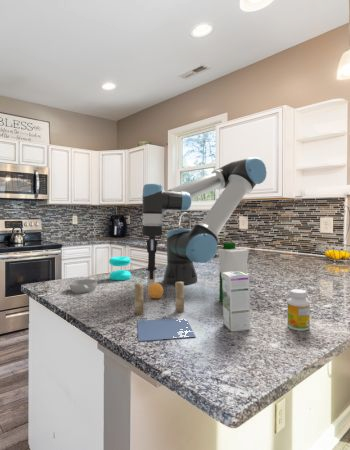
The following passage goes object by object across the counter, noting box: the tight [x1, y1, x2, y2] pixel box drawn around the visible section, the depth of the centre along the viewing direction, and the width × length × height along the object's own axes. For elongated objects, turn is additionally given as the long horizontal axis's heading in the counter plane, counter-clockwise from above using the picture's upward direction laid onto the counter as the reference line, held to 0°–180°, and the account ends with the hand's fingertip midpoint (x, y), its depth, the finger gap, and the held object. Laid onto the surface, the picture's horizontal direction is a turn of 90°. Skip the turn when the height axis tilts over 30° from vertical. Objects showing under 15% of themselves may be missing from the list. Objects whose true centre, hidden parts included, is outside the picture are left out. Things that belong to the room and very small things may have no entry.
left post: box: [134, 282, 145, 316], centre depth 95 cm, size 3×3×9 cm
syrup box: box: [222, 271, 251, 332], centre depth 82 cm, size 6×6×14 cm
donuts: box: [108, 256, 132, 281], centre depth 146 cm, size 10×10×10 cm
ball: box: [147, 282, 164, 299], centre depth 112 cm, size 6×6×6 cm
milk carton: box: [217, 241, 250, 303], centre depth 106 cm, size 9×9×20 cm
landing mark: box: [137, 318, 197, 343], centre depth 82 cm, size 14×14×1 cm
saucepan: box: [68, 278, 98, 294], centre depth 122 cm, size 11×18×4 cm, turn 23°
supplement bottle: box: [287, 288, 311, 332], centre depth 82 cm, size 5×5×10 cm
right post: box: [174, 282, 185, 313], centre depth 97 cm, size 3×3×9 cm
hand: (151, 287), depth 118 cm, fingers closed
